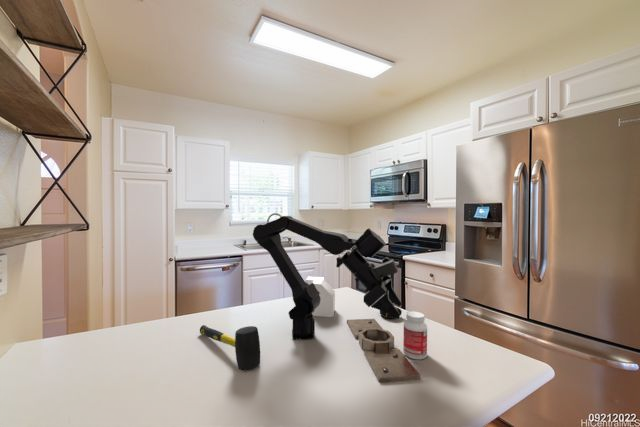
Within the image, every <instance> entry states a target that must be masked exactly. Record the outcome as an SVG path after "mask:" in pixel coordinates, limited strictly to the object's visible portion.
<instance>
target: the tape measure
mask: <svg viewBox="0 0 640 427" xmlns="http://www.w3.org/2000/svg"><path fill="white" fill-rule="evenodd" d="M395 308H396V309H397V310H398V312H399V313H400V316H402V312H403V310H402V309H401V308H399V307H396V306H395ZM379 314H380V315H381V317H384V318H387V319H397V317H394V316H392V315H390V314H388V313H386V312H383V311H381V310H379Z"/></svg>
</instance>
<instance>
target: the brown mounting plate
mask: <svg viewBox="0 0 640 427" xmlns="http://www.w3.org/2000/svg"><path fill="white" fill-rule="evenodd" d="M346 323H347V326H348V328H349V329H350V331H351V333H352V335H353V338H354V339H358V344H359V346H360V348H361V349H362V351H363V356H364V358H365V359H366V361H367V363H368V365H369V366H370V368H371V370H372V372H373V373H374V376H375V377H376V379H377V381H378V383H388V382H389V383H390V382H400V381H404V382H405V381H415V380H418V381H419V380H421V374H420V373H419V372H418V370H417V369H416V368H415V367H414V365H413V364H412V363H411V362H410V361H409V359H408V358H407V356H406V355H405V354H404V352H402V351H401V349H399V348H397V349H395V336H394V335H393V334H392V333H391V331H389V330H385V329H383V328H382V326H381V325H380V324H379V323H378V321H377V320H376V319H375V318H359V319H346ZM375 340H377V341H375ZM378 340H379V341H378Z"/></svg>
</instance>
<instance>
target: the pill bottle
mask: <svg viewBox="0 0 640 427" xmlns="http://www.w3.org/2000/svg"><path fill="white" fill-rule="evenodd" d="M405 317H406V320H405V321H404V322H403V341H402V342H403V346H402V348H403V352H402V353H403V354H404V356H405V357H408V358H409V359H412V360H413V359H414V360H424V359H426V357H427V356H428V326H427V323H426V322H425V314H424V313H422V312H419V311H408V312H406V316H405Z"/></svg>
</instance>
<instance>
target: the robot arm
mask: <svg viewBox="0 0 640 427" xmlns="http://www.w3.org/2000/svg"><path fill="white" fill-rule="evenodd" d="M285 231H289V232H292V233H293V234H297V235H299V236H301V237H303V238H305V239H307V240H310V241H313V242H315V243H316V244H318V245H319V246H320V247H321V248H322V249H324V250H325V251H326V252H328V253H329V254H331V255H334V256H338V257H336V265H335V266H336V268H340V267H341V266H342V265H344V266H345V268H346V269H347V270H349V272H350V273H351V274H352V275H353V276H354V277H355V278H354V280H355V282H359V283H360V284H361V285H362V286H363V287H364V288H365V289H364V291H365V294H364V296H363V303H364V304H365V305H366V306H367V307H368V308H370V307H371V309H375V310H379V311H380V310H381V311H383V312H386V313H388V314H390V315H392V316H394V317H396V319H398V318H400V317H401V315H400V313H399V312H398V310H397V309H396V308H395V307H396V306H398V307H400V306H402V305H403V303H402V302H401V299H400V298H399V296H398V295H397V293H396V291H395V289H394V288H393V278H391V277H392V276H391V275H395V274H396V273H399V268H398V265H397V263H396V261H395V260H394V259H393V258H392V259H391V258H390V257H388V256H386V257H385V258H382V262H381V263H380V264H378V265H375V263H370V262H369V261H368V260H367V258H370V259H373V258H374V256H375V255H377V254H378V253H379V252H380V251H381V250H382V249H383V248H384V247H385V246H386V245H387V244H386V242H385V241H384V239H383V238H382V237H381V236H380V235H379V234H377V233H376V232H374V231H373V230H372V229H371V228H367V229H365V231H364V232H363V234H362V235H360V237H359V238H357V239H356V238H349V236H348V235H346V234H343V233H339V232H335V231H328V230H323V229H321V228H318V227H315V226H314V225H312V224H309V223H306V222H304V221H301V220H300V219H296V218H294V217H293V216H292V215H282V216H281V217H279V218H277V219H273V220H272V221H270V222H269V221H268V222H266V223H260V224H257V225H256V226H255V227H254V228H253V233H252V238H253V239H254V241H256V243H257V244H258V245H259V246H260V247H261V248H263V249H264V250H265V251H267V252H268V253H269V255H270V257H271V258H272V260H273V261H274V263H275V265H276V266H277V268H278V269H279V271H280V274H281V275H282V276H283V278H284V280H285V281H286V283H287V284H288V286H289V288H290V289H291V292H292V293H291V295H292V300H293V302H294V307H293V308H291V309H290V310H289V311H288V316H289V319H290V320H292V329H291V338H292V340H295V341H296V340H312V339H314V338H315V337H314V335H315V332H316V331H315V329H316V328H315V326H316V325H315V324H316V321H315V318H314V316H313V315H312V313H313V312H314V311H315V309H316V308H317V307H318V306H319V304H320V300H321V299H320V296H319V294H320V292H319V291H318V290H317V289H316V287H315V285H314V284H313V283H311V284H310V285H309V284H308V283H306V280H304V278H303V277H302V275H301V273H300V272H299V271H298V269H297V267H296V265H295V264H294V262H293V261H292V259H291V258H290V256H289V254H288V252H287V251H286V249H285V247H284V246H283V244H282V238H281V234H282V233H283V232H285ZM354 248H355V249H354ZM351 249H353V250H352V251H350V250H351ZM348 250H349V251H348ZM343 253H344V254H343ZM340 254H343V255H342V256H339V255H340ZM394 304H395V305H396V306H395V305H394Z"/></svg>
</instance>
